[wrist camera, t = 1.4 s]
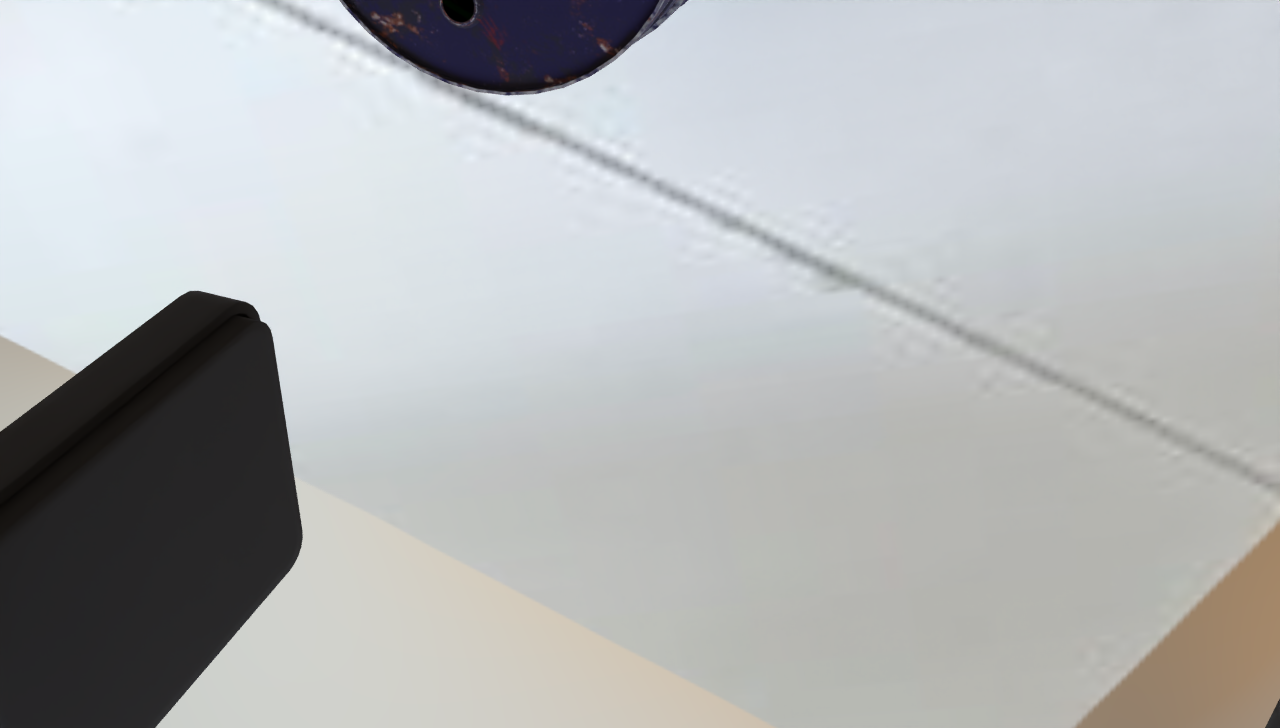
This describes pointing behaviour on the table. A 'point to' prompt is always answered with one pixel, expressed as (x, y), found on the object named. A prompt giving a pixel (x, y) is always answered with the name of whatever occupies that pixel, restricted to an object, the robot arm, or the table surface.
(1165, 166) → the table surface
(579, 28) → the dark blue cylinder
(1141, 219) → the table surface
